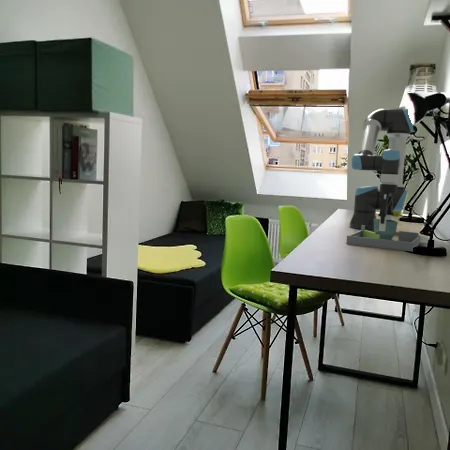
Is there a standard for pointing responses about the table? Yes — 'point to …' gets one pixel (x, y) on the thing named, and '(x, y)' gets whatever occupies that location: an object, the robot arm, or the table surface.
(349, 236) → the grey desk tray
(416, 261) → the table surface
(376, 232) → the gate
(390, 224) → the flower pot
